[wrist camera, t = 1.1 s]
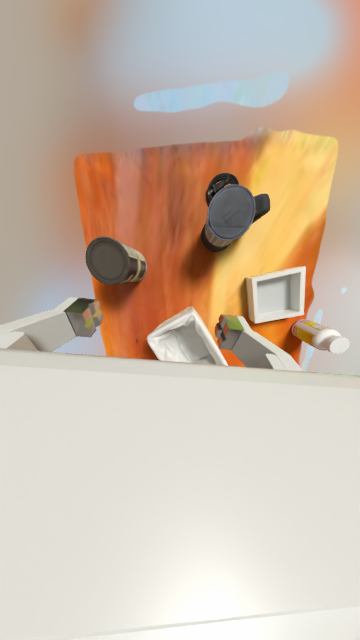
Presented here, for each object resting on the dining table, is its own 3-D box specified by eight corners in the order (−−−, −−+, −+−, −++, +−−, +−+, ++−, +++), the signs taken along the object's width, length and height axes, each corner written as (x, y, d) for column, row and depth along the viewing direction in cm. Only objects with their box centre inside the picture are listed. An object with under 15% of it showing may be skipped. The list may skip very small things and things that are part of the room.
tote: (291, 310, 46) (303, 314, 41) (248, 318, 48) (255, 323, 43) (292, 267, 42) (305, 266, 37) (245, 278, 43) (252, 278, 39)
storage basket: (155, 321, 50) (142, 339, 36) (193, 299, 47) (194, 309, 33) (188, 369, 56) (187, 400, 42) (224, 352, 52) (236, 380, 38)
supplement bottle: (298, 340, 49) (334, 361, 37) (286, 328, 48) (319, 347, 36) (315, 327, 47) (359, 345, 35) (303, 315, 46) (344, 329, 34)
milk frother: (212, 258, 42) (223, 250, 28) (181, 211, 39) (177, 175, 25) (254, 225, 39) (290, 198, 25) (224, 171, 36) (247, 103, 22)
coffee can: (151, 277, 45) (135, 279, 32) (123, 285, 47) (96, 289, 33) (141, 244, 42) (119, 230, 29) (111, 253, 44) (77, 243, 30)
